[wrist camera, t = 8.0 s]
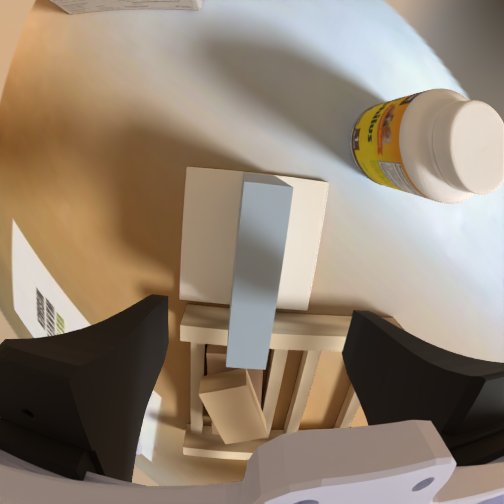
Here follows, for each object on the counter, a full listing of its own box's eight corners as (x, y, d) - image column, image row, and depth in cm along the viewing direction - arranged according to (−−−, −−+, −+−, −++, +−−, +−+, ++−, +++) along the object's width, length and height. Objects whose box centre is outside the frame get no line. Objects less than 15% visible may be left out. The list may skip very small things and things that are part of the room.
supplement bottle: (382, 90, 18) (477, 56, 8) (430, 150, 19) (534, 159, 10) (329, 141, 19) (407, 134, 10) (382, 201, 21) (477, 241, 11)
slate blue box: (229, 305, 22) (225, 366, 15) (243, 172, 19) (244, 181, 13) (258, 307, 22) (265, 369, 15) (275, 175, 19) (293, 187, 13)
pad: (180, 297, 22) (179, 299, 22) (187, 166, 19) (186, 166, 19) (306, 307, 23) (307, 310, 22) (327, 182, 20) (329, 182, 20)
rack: (187, 431, 26) (183, 454, 23) (187, 304, 22) (180, 325, 19) (348, 434, 27) (355, 455, 24) (393, 317, 23) (409, 336, 20)
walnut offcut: (213, 415, 26) (212, 434, 24) (209, 335, 24) (206, 353, 21) (257, 415, 26) (258, 434, 24) (261, 335, 24) (263, 353, 21)
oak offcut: (226, 426, 24) (225, 444, 22) (201, 376, 22) (198, 394, 20) (265, 419, 24) (267, 437, 22) (245, 367, 22) (246, 385, 20)
